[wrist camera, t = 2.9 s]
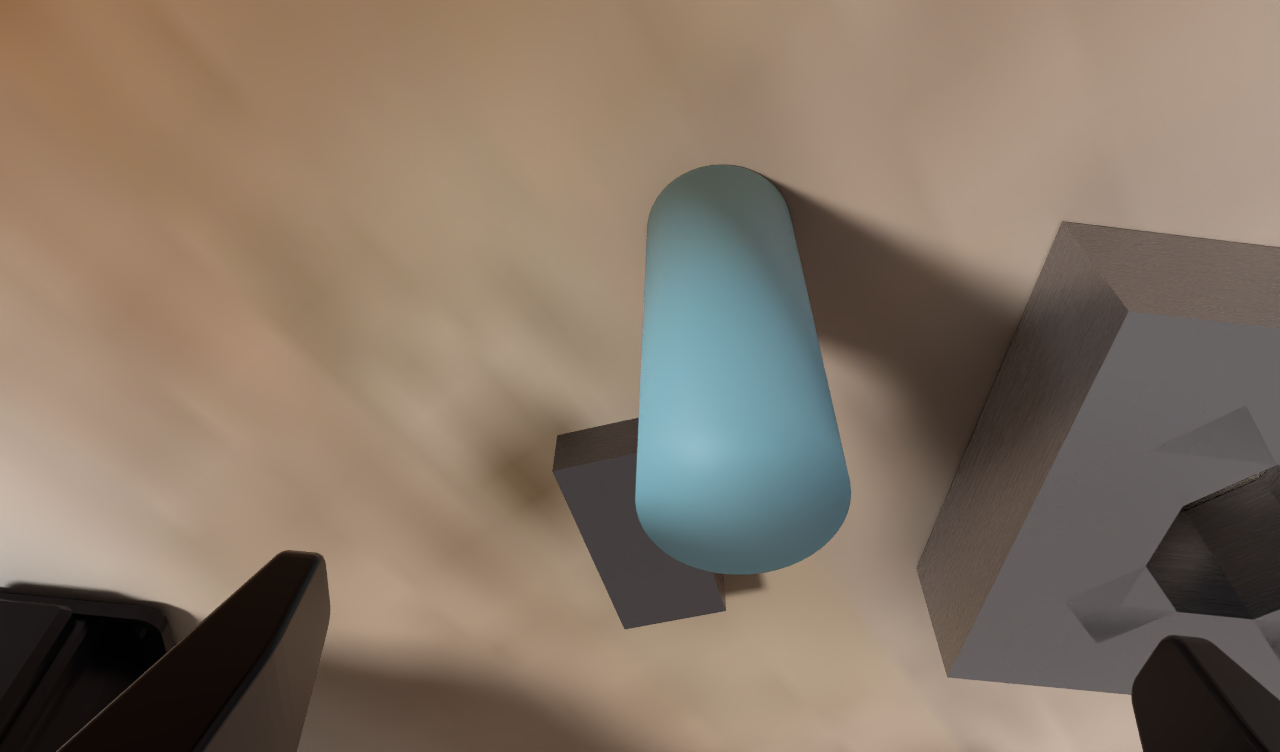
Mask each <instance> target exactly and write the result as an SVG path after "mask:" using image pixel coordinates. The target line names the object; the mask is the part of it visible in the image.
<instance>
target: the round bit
mask: <svg viewBox="0 0 1280 752" xmlns="http://www.w3.org/2000/svg"><path fill="white" fill-rule="evenodd" d="M850 500H851V487H850V480H849V475H848V471H847V466H846V462H845V457H844V453H843V448H842V444H841V440H840V435H839V431H838V426H837V422H836V417H835V413H834V408H833V404H832V399H831V395H830V391H829V386H828V382H827V377H826V373H825V368H824V364H823V359H822V355H821V350H820V346H819V342H818V337H817V333H816V328H815V324H814V319H813V315H812V310H811V306H810V301H809V297H808V293H807V288H806V284H805V279H804V275H803V270H802V266H801V261H800V257H799V252H798V248H797V244H796V239H795V235H794V230H793V226H792V221H791V217H790V213H789V210H788V206H787V204H786V202H785V200H784V198H783V197H782V195H781V193H780V192H779V191H778V190H777V188H776V187H775V186H774V185H773V184H772V183H771V182H769V181H768V180H767V179H766V178H764V177H763V176H761V175H760V174H758V173H756V172H754V171H751V170H749V169H746V168H743V167H739V166H733V165H710V166H705V167H700V168H697V169H694V170H691V171H689V172H687V173H685V174H683V175H681V176H680V177H678V178H677V179H675V180H674V181H673V182H671V183H670V184H669V185H668V186H667V187H666V188H665V189H664V190H663V191H662V192H661V194H660V195H659V196H658V198H657V199H656V201H655V203H654V205H653V207H652V209H651V212H650V215H649V219H648V224H647V242H646V265H645V288H644V311H643V333H642V356H641V379H640V402H639V424H638V447H637V470H636V493H635V503H636V511H637V514H638V518H639V521H640V523H641V525H642V527H643V529H644V531H645V532H646V533H647V535H648V536H649V538H650V539H651V540H652V541H653V542H654V543H655V544H656V545H657V546H658V547H659V548H660V549H661V550H663V551H664V552H665V553H666V554H668V555H670V556H671V557H673V558H674V559H676V560H678V561H680V562H682V563H684V564H686V565H689V566H692V567H695V568H697V569H701V570H705V571H709V572H714V573H721V574H733V575H745V574H757V573H764V572H769V571H774V570H778V569H781V568H784V567H787V566H790V565H792V564H795V563H797V562H799V561H801V560H803V559H805V558H807V557H809V556H810V555H812V554H814V553H815V552H816V551H818V550H819V549H821V548H822V547H823V546H824V545H825V544H826V543H827V542H829V541H830V540H831V538H832V537H833V536H834V535H835V534H836V533H837V531H838V530H839V528H840V527H841V525H842V524H843V522H844V520H845V517H846V515H847V513H848V509H849V505H850Z"/></svg>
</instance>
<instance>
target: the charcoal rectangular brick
mask: <svg viewBox="0 0 1280 752" xmlns="http://www.w3.org/2000/svg"><path fill="white" fill-rule="evenodd" d="M638 424H639V418H635V419H631V420H626V421H621V422H617V423H612V424H607V425H603V426H598V427H594V428H589V429H584V430H580V431H575V432H571V433H566V434H561V435H557V442H556V449H555V457H554V464H553V473H554V476H555V478H556V480H557V482H558V484H559V486H560V489H561V491H562V493H563V495H564V497H565V500H566V502H567V504H568V506H569V508H570V511H571V513H572V515H573V517H574V519H575V522H576V524H577V526H578V528H579V530H580V533H581V535H582V537H583V539H584V541H585V543H586V546H587V548H588V550H589V552H590V554H591V557H592V559H593V561H594V563H595V565H596V568H597V570H598V572H599V574H600V576H601V579H602V581H603V583H604V585H605V587H606V589H607V592H608V594H609V596H610V598H611V600H612V603H613V605H614V607H615V609H616V611H617V614H618V616H619V618H620V620H621V622H622V625H623V627H624V629H629V628H635V627H640V626H645V625H651V624H656V623H662V622H667V621H673V620H678V619H684V618H689V617H695V616H700V615H706V614H711V613H716V612H722V611H726V602H725V589H724V576H723V574H721V573H714V572H709V571H705V570H701V569H697V568H695V567H692V566H689V565H686V564H684V563H682V562H680V561H678V560H676V559H674V558H673V557H671V556H670V555H668V554H666V553H665V552H664V551H663V550H661V549H660V548H659V547H658V546H657V545H656V544H655V543H654V542H653V541H652V540H651V539H650V538H649V536H648V535H647V533H646V532H645V531H644V529H643V527H642V525H641V523H640V521H639V518H638V514H637V511H636V503H635V493H636V470H637V447H638Z"/></svg>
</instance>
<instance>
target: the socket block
mask: <svg viewBox="0 0 1280 752" xmlns="http://www.w3.org/2000/svg"><path fill="white" fill-rule="evenodd" d="M1264 470H1266V471H1265V472H1264V474H1263V475H1262V477H1261V478H1260V479H1258V480H1256V481H1253V482H1251V483H1249V484H1247V485H1244V486H1242V487H1240V488H1237V489H1235V490H1233V491H1231V492H1228V493H1226V494H1224V495H1221V496H1219V497H1217V498H1214V499H1212V500H1210V501H1208V502H1205V503H1203V504H1201V505H1198V506H1196V507H1194V508H1192V509H1189V510H1187V511H1180V510H1181V508H1182V507H1183V506H1184V505H1187V504H1189V503H1191V502H1194V501H1196V500H1198V499H1200V498H1203V497H1205V496H1207V495H1209V494H1212V493H1214V492H1216V491H1219V490H1221V489H1223V488H1225V487H1228V486H1230V485H1232V484H1235V483H1237V482H1239V481H1241V480H1244V479H1246V478H1248V477H1250V476H1253V475H1255V474H1257V473H1260V472H1262V471H1264ZM917 572H918V575H919V579H920V582H921V586H922V589H923V593H924V597H925V600H926V604H927V607H928V611H929V614H930V618H931V621H932V625H933V628H934V632H935V635H936V639H937V642H938V646H939V649H940V653H941V656H942V660H943V664H944V667H945V671H946V674H947V677H950V678H961V679H971V680H982V681H992V682H1003V683H1013V684H1024V685H1034V686H1045V687H1055V688H1066V689H1077V690H1087V691H1098V692H1108V693H1119V694H1129V695H1131V692H1132V685H1133V682H1134V679H1135V678H1136V676H1137V674H1138V673H1139V671H1140V670H1141V669H1142V667H1143V666H1144V664H1145V663H1146V661H1147V660H1148V658H1149V657H1150V655H1151V654H1152V652H1153V651H1154V649H1155V648H1156V646H1157V645H1158V643H1159V642H1160V641H1161V640H1162V639H1163V638H1165V637H1167V636H1169V635H1180V636H1190V637H1199V638H1204V639H1207V640H1209V641H1210V642H1212V643H1213V644H1215V645H1216V646H1217V647H1218V648H1219V649H1221V650H1222V651H1223V652H1224V653H1225V654H1226V655H1228V656H1229V657H1230V658H1231V659H1232V660H1234V661H1235V662H1236V663H1237V664H1238V665H1239V666H1241V667H1242V668H1243V669H1244V670H1245V671H1246V672H1248V673H1249V674H1250V675H1251V676H1252V677H1253V678H1255V679H1256V680H1257V681H1258V682H1259V683H1260V684H1262V685H1263V686H1264V687H1265V688H1266V689H1267V690H1269V691H1270V692H1271V693H1272V694H1273V695H1274V696H1276V697H1277V698H1278V699H1279V700H1280V248H1277V247H1269V246H1260V245H1252V244H1244V243H1236V242H1227V241H1219V240H1211V239H1202V238H1194V237H1186V236H1177V235H1169V234H1161V233H1152V232H1144V231H1136V230H1128V229H1119V228H1111V227H1103V226H1094V225H1086V224H1078V223H1069V222H1062V223H1061V226H1060V228H1059V231H1058V233H1057V235H1056V238H1055V240H1054V243H1053V245H1052V247H1051V250H1050V252H1049V254H1048V257H1047V259H1046V262H1045V264H1044V266H1043V269H1042V271H1041V273H1040V276H1039V278H1038V281H1037V283H1036V285H1035V288H1034V290H1033V293H1032V295H1031V297H1030V300H1029V302H1028V304H1027V307H1026V309H1025V312H1024V314H1023V316H1022V319H1021V321H1020V324H1019V326H1018V328H1017V331H1016V333H1015V335H1014V338H1013V340H1012V343H1011V345H1010V347H1009V350H1008V352H1007V355H1006V357H1005V359H1004V362H1003V364H1002V366H1001V369H1000V371H999V374H998V376H997V378H996V381H995V383H994V385H993V388H992V390H991V393H990V395H989V397H988V400H987V402H986V405H985V407H984V409H983V412H982V414H981V416H980V419H979V421H978V424H977V426H976V428H975V431H974V433H973V436H972V438H971V440H970V443H969V445H968V447H967V450H966V452H965V455H964V457H963V459H962V462H961V464H960V467H959V469H958V471H957V474H956V476H955V478H954V481H953V483H952V486H951V488H950V490H949V493H948V495H947V497H946V500H945V502H944V505H943V507H942V509H941V512H940V514H939V517H938V519H937V521H936V524H935V526H934V528H933V531H932V533H931V536H930V538H929V540H928V543H927V545H926V548H925V550H924V552H923V555H922V557H921V559H920V562H919V564H918V567H917Z"/></svg>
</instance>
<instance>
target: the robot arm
mask: <svg viewBox="0 0 1280 752" xmlns="http://www.w3.org/2000/svg"><path fill="white" fill-rule="evenodd" d="M329 618H330V599H329V590H328V580H327V571H326V563H325V560H324V558H323V556H322V555H321V554H318V553H314V552H303V551H293V550H286V551H283V552H281V553H279V554H277V555H276V556H275V557H274V558H273V559H272V560H270V561H269V562H268V563H267V564H266V565H265V566H264V567H263V568H261V569H260V570H259V571H258V572H257V573H256V574H255V575H254V576H252V577H251V578H250V579H249V580H248V581H247V582H246V583H245V584H244V585H242V586H241V587H240V588H239V589H238V590H237V591H236V592H235V593H233V594H232V595H231V596H230V597H229V598H228V599H227V600H226V601H224V602H223V603H222V604H221V605H220V606H219V607H218V608H217V609H215V610H214V611H213V612H212V613H211V614H210V615H209V616H208V617H206V618H205V619H204V620H203V621H202V622H201V623H200V624H199V625H197V626H196V627H195V628H194V629H193V630H192V631H191V632H190V633H189V634H187V635H186V636H185V637H184V638H183V639H182V640H181V641H180V642H178V643H177V644H176V645H175V644H174V640H173V636H172V632H171V629H170V625H169V621H168V620H167V618H166V616H165V615H163V614H162V613H161V612H160V611H158V610H155V609H153V608H150V607H145V606H135V605H125V604H114V603H104V602H93V601H83V600H72V599H62V598H51V597H40V596H30V595H19V594H9V593H0V752H296V751H297V748H298V744H299V740H300V736H301V732H302V728H303V724H304V721H305V717H306V713H307V709H308V705H309V701H310V697H311V693H312V689H313V685H314V681H315V677H316V673H317V669H318V665H319V661H320V657H321V653H322V649H323V645H324V641H325V637H326V633H327V629H328V625H329ZM1131 696H1132V705H1133V710H1134V714H1135V718H1136V723H1137V727H1138V731H1139V736H1140V740H1141V744H1142V749H1143V752H1280V700H1279V699H1278V698H1277V697H1276V696H1274V695H1273V694H1272V693H1271V692H1270V691H1269V690H1267V689H1266V688H1265V687H1264V686H1263V685H1262V684H1260V683H1259V682H1258V681H1257V680H1256V679H1255V678H1253V677H1252V676H1251V675H1250V674H1249V673H1248V672H1246V671H1245V670H1244V669H1243V668H1242V667H1241V666H1239V665H1238V664H1237V663H1236V662H1235V661H1234V660H1232V659H1231V658H1230V657H1229V656H1228V655H1226V654H1225V653H1224V652H1223V651H1222V650H1221V649H1219V648H1218V647H1217V646H1216V645H1215V644H1213V643H1212V642H1210V641H1209V640H1207V639H1204V638H1199V637H1190V636H1180V635H1169V636H1167V637H1165V638H1163V639H1162V640H1161V641H1160V642H1159V643H1158V645H1157V646H1156V648H1155V649H1154V651H1153V652H1152V654H1151V655H1150V657H1149V658H1148V660H1147V661H1146V663H1145V664H1144V666H1143V667H1142V669H1141V670H1140V671H1139V673H1138V674H1137V676H1136V678H1135V679H1134V682H1133V685H1132V692H1131Z"/></svg>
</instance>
